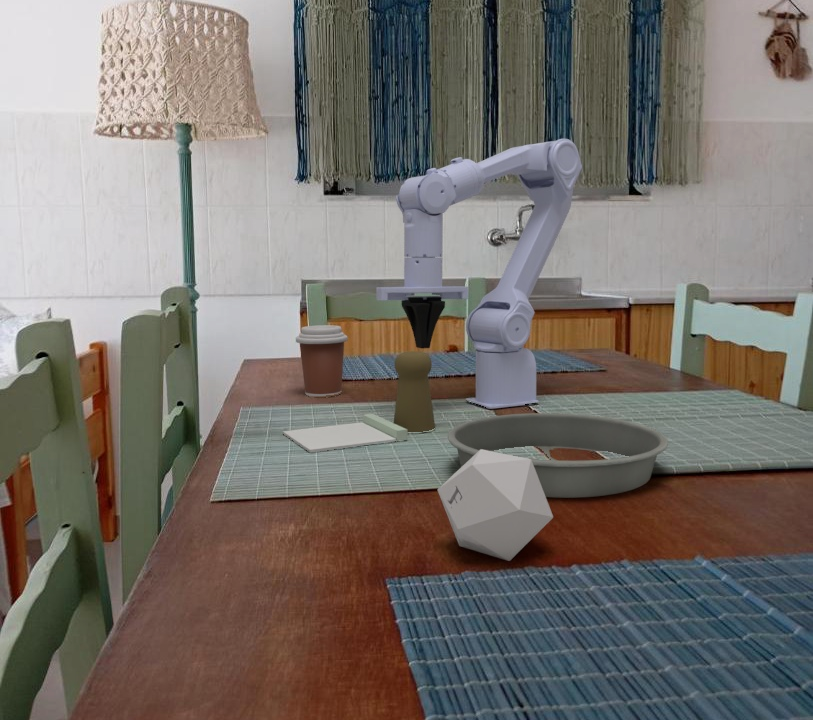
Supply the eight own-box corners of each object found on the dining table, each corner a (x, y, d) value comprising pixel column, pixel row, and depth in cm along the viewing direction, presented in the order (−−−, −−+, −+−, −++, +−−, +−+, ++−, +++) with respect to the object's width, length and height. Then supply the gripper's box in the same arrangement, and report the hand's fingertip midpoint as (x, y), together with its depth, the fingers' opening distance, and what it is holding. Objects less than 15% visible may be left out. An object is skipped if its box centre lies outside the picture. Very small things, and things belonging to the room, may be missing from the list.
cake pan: (636, 519, 77) (637, 472, 77) (409, 486, 89) (408, 445, 88) (686, 458, 98) (687, 422, 98) (497, 438, 110) (497, 406, 110)
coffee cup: (287, 397, 142) (285, 329, 141) (313, 388, 151) (310, 324, 149) (334, 400, 139) (332, 330, 137) (357, 391, 147) (356, 325, 145)
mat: (362, 424, 119) (362, 422, 119) (396, 441, 108) (396, 439, 108) (282, 434, 114) (282, 431, 114) (310, 452, 103) (309, 449, 103)
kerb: (372, 423, 120) (372, 413, 119) (407, 440, 109) (407, 429, 109) (363, 424, 119) (363, 414, 119) (397, 441, 108) (397, 430, 108)
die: (455, 533, 75) (409, 462, 70) (538, 483, 75) (499, 409, 70) (489, 599, 68) (441, 526, 63) (581, 544, 68) (541, 467, 63)
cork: (440, 425, 118) (439, 350, 116) (428, 434, 112) (426, 355, 111) (401, 423, 120) (399, 349, 118) (386, 432, 114) (385, 354, 112)
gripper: (453, 257, 129) (452, 343, 130) (368, 257, 123) (368, 347, 124) (475, 257, 122) (474, 347, 124) (387, 257, 116) (387, 351, 118)
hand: (422, 347), depth 124 cm, fingers closed
